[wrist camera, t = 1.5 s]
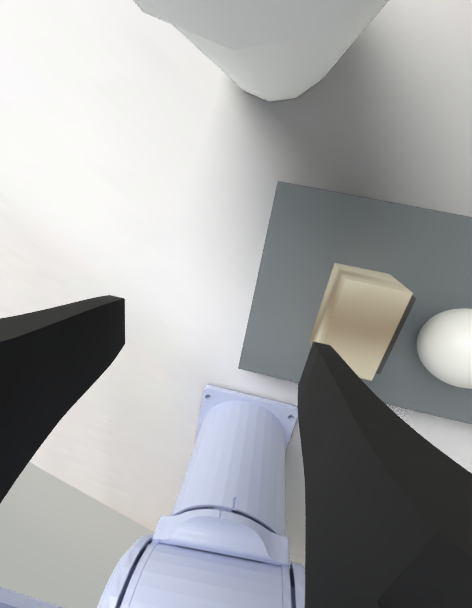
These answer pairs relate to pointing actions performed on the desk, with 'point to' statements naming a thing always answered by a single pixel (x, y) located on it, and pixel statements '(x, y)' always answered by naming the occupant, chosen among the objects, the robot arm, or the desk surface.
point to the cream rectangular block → (362, 317)
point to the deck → (368, 255)
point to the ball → (448, 346)
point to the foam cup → (269, 37)
